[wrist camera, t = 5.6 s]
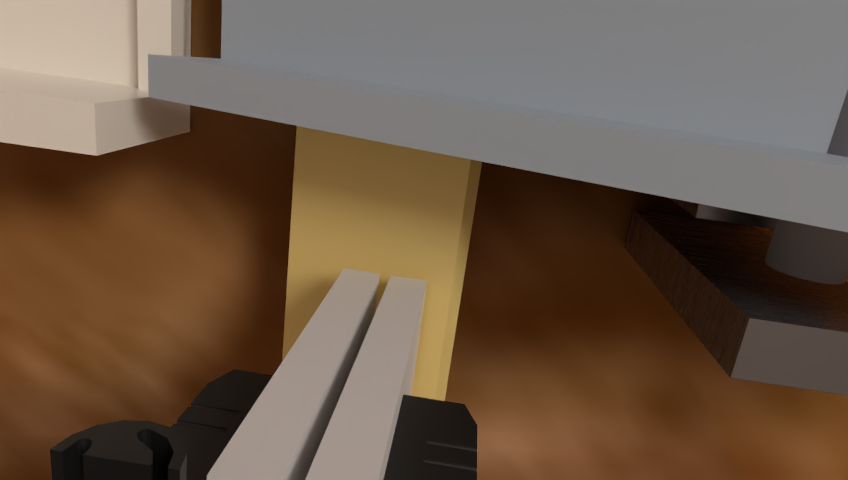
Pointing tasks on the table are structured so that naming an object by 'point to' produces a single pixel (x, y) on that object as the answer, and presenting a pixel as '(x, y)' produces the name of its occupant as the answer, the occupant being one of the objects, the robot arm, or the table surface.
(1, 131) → the tray
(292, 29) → the lever
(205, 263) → the table surface
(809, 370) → the fulcrum
